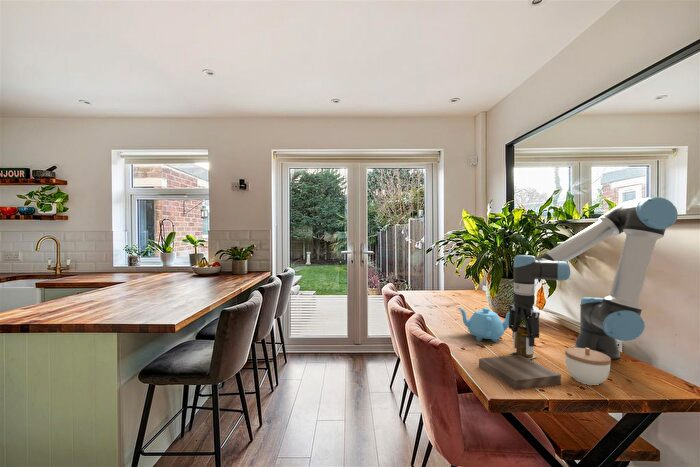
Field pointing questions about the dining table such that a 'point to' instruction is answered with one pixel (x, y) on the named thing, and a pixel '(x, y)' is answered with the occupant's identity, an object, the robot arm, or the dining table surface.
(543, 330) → the dining table surface
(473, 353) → the dining table surface
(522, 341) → the condiment
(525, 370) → the grey flat square piece
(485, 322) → the teapot
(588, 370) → the lidded bowl
